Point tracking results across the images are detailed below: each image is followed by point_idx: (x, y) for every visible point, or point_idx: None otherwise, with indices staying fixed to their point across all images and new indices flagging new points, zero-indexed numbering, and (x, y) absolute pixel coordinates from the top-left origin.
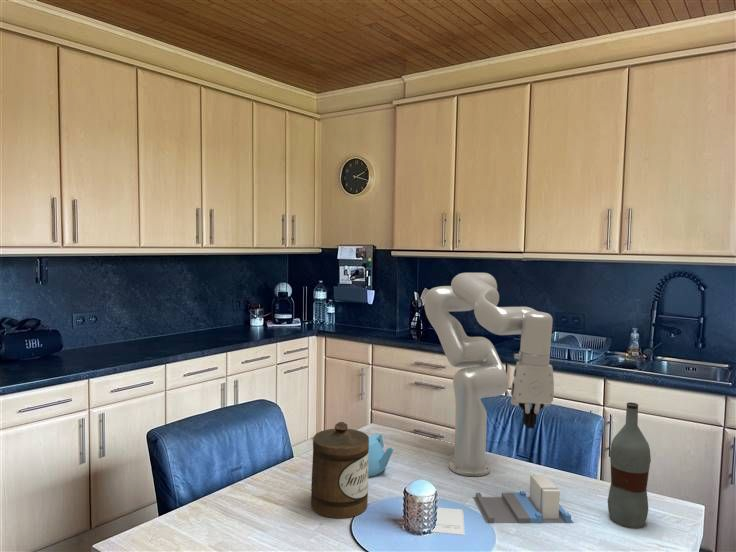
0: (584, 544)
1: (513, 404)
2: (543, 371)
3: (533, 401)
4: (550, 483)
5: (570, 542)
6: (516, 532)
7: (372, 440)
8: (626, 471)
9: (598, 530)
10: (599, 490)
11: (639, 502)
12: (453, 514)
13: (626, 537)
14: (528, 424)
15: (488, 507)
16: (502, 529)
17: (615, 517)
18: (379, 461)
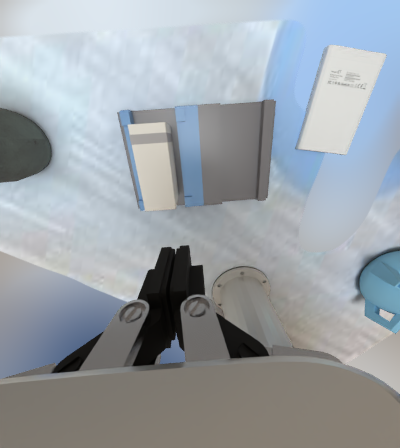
0: (111, 35)
1: (319, 354)
2: None
3: (146, 392)
4: (141, 167)
5: (136, 42)
6: (226, 80)
7: None
8: None
9: (77, 99)
10: (59, 245)
11: None
12: (321, 129)
13: (26, 72)
14: (188, 252)
15: (253, 162)
16: (248, 91)
17: (35, 128)
18: (395, 269)
